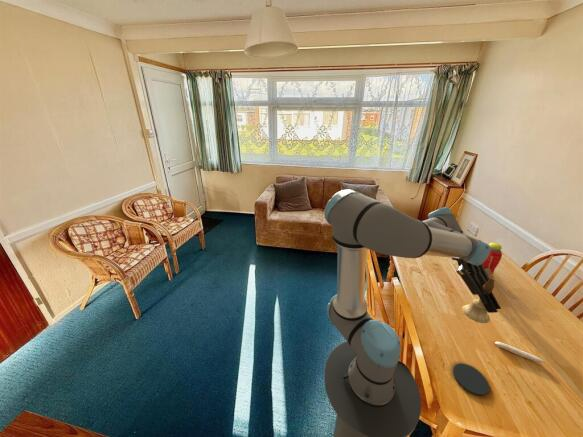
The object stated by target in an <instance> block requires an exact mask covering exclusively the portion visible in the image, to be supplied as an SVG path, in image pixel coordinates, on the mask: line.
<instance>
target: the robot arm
mask: <svg viewBox="0 0 583 437" xmlns="http://www.w3.org/2000/svg"><path fill="white" fill-rule="evenodd" d="M323 214H324V219H325V221H326V222H327V224H329V225H330V226H331V230H332V231H331V232H332V234H331V236H332V241H333V243H335V244H336V246H337V255H336V256H337V258H336V259H337V260H336V261H337V263H336V264H337V267H336V268H337V269H336V272H337V276H336V277H337V279H336V289H337V290H336V294H335V295H333V296H332V297H331V299H330V300H329V302H328V303H327V306H326V316H327V318H328V319H329V321H330V323H331V324H332V325H333V326H334V327H335V328H336V330H337V331H338V332H339V333H340V335H341V336H342V337H343V338H344V340H345V342H346V341H347V342H348V343H349V344H350V346H351V347H352V348H353V350H354V351H355V352H356V353H357V357H356V358H355V359H354V360H353V361H352V362H351V364H350V366H349V369H348V375H346V376H343V378H344V379H346V378H348V382H349V385H350V388H351V390H352V391H353V393H354V394H355V395H356V397H357V398H358V399H360V400H361V401H362V402H364V403H365V404H367V405H370V406H373V407H382V406H385V405H387V404H388V403H390V401H391V400H392V398H393V396H394V393H395V378H394V375H393V374H394V371H395V369H396V366H397V363H398V361H400V358H401V350H402V344H401V340H400V337H399V335H398V334H397V332H396V330H395V329H394V328H393V327H392V326H391V325H389V324H388V323H386V322H384V321H380V320H379V319H373V317H372V316H370V315H369V314H368V302H367V300H366V298H365V296H364V295H365V283H366V271H367V270H366V269H367V258H368V250H369V251H372V252H375V253H378V254H381V255H385V256H386V255H387V256H391V257H396V258H403V259H418V258H422V257H423V256H428V257H429V256H430V257H437V258H449V259H451V260H453V261H456V262H457V265H458V267H459V268H458V269H456V270H455V271H456V273H457V274H458V275H459V276H460V278H461V279H462V281H463V282H464V284H465V285H466V287H467V289H468V290H469V291H470V293H471V294H472V295H474V296H478V297H479V298H478V299H481V301H482V303H483V305H484V306H485V308H486V310H487V314H489V313H491V314H493V313H495V314H496V313H498V312H499V311H498V310H501V309H502V306H501V305H500V304H499V302H498V300H497V299H496V297H495V295H494V293H493V291H492V292H491V293H490V294H487V293H485V291H484V290H483V286H484V284H485V283H486V282H487V281H488V280H489V277H488V275H487V273H486V271H485V269H484V267H483V265H482V263H483V262H484V261H485V260H486V259H487V257H488V256H489V254H490V251H491V247H490V245H489V243H486V242H484V241H482V240H481V239H478V238H475V237H473V236H470V235H467V234H465V233H464V231H463V230H462V227H461V225H460V224H459V222H458V220H457V218H456V217H455V214H453V212H452V210H451V209H450V208H449V207H448V206H443V207H440V208H438V209H436V210H433V211H431V212H429V213H428V215H427V216H428V219H425V220H420V219H417V218H414V217H412V216H409V215H408V214H406V213H404V212H403V211H401V210H399V209H397V208H395V207H393V206H392V205H389V204H387V203H384V202H382V201H379V200H378V199H376V198H375V199H374V198H372V197H371V196H367V195H365V194H363V193H362V192H361V191H355V190H353V189H349V188H348V189H342V190H340V191H337V192H336V193H334V195H332V196H331V198H330V199H329V200H328V201H327V203H326V205H325V207H324V212H323Z"/></svg>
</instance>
